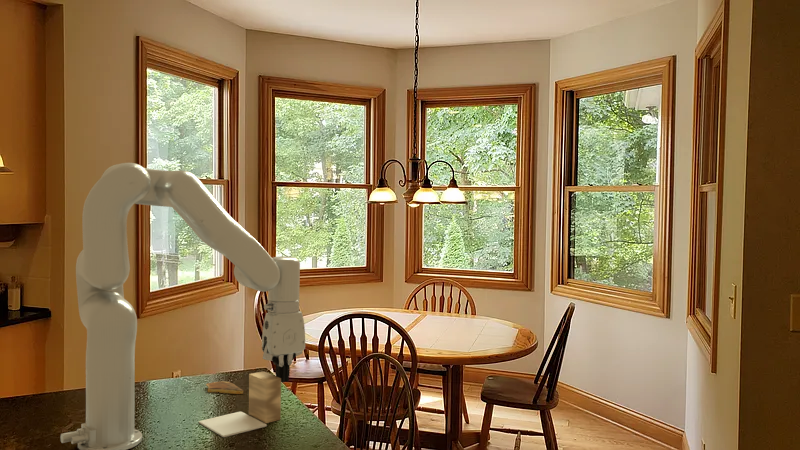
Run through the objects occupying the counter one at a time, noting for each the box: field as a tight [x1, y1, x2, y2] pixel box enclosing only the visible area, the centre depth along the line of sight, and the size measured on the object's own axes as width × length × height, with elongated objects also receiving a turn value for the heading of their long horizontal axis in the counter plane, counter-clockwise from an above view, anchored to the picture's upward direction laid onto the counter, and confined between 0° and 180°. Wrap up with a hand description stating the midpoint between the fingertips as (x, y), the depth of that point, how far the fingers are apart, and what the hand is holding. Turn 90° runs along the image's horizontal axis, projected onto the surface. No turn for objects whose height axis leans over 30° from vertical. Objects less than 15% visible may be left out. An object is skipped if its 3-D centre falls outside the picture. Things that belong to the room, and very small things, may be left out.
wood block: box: [248, 371, 282, 424], centre depth 158 cm, size 4×8×10 cm, turn 43°
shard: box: [205, 380, 245, 395], centre depth 178 cm, size 11×8×2 cm
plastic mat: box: [198, 410, 268, 438], centre depth 153 cm, size 11×12×1 cm
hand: (282, 380), depth 162 cm, fingers closed
